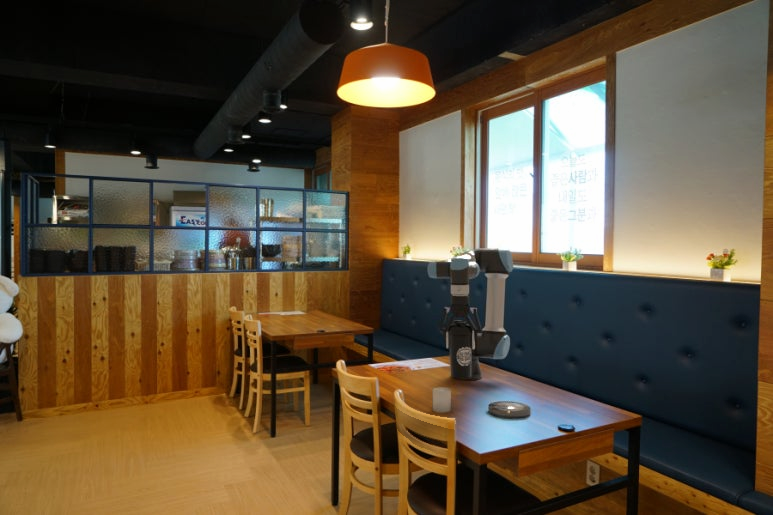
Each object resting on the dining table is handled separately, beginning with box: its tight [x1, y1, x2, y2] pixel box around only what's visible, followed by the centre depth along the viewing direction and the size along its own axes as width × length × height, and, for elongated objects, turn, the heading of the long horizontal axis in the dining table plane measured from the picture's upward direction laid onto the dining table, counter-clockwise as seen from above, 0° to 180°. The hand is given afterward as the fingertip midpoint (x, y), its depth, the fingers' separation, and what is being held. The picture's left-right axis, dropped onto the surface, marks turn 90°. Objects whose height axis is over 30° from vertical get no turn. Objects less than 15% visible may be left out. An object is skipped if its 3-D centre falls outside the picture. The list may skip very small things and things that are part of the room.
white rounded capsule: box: [432, 386, 452, 414], centre depth 205 cm, size 7×7×8 cm
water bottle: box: [447, 319, 473, 380], centre depth 215 cm, size 10×10×23 cm
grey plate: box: [487, 400, 532, 420], centre depth 201 cm, size 16×16×2 cm
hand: (460, 348), depth 215 cm, fingers closed on water bottle, 10 cm apart
